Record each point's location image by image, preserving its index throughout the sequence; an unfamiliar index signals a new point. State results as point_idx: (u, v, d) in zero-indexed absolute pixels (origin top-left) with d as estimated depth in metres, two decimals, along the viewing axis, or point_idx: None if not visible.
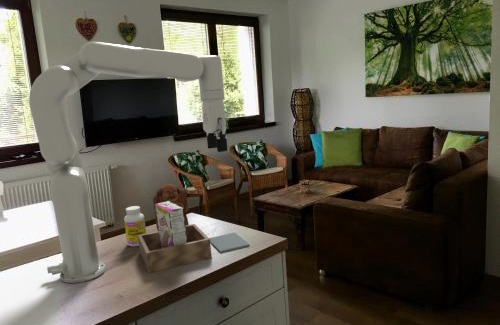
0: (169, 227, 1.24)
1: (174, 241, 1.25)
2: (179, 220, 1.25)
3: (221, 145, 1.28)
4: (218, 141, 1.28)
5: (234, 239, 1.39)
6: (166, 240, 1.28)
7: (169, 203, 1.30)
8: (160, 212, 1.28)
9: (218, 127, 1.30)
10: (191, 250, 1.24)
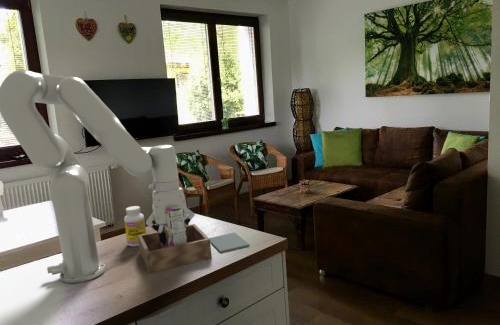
0: (169, 227, 1.24)
1: (174, 241, 1.25)
2: (179, 220, 1.25)
3: None
4: None
5: (234, 239, 1.39)
6: (166, 240, 1.28)
7: None
8: None
9: None
10: (191, 250, 1.24)
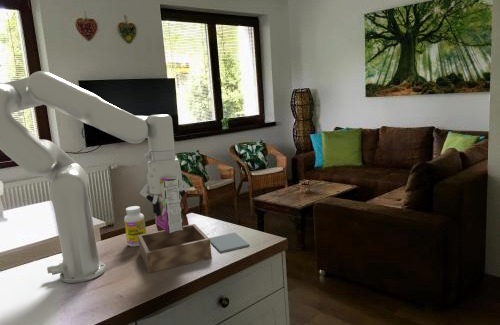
0: (164, 197, 1.22)
1: (168, 212, 1.23)
2: (174, 190, 1.23)
3: None
4: None
5: (234, 239, 1.39)
6: (160, 211, 1.26)
7: None
8: None
9: None
10: (191, 250, 1.24)
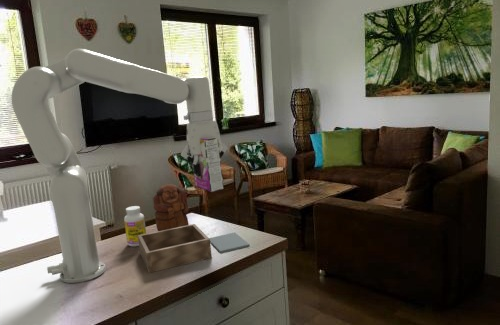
0: (204, 157, 1.26)
1: (210, 170, 1.26)
2: (214, 150, 1.26)
3: None
4: None
5: (234, 239, 1.39)
6: (201, 172, 1.30)
7: None
8: None
9: None
10: (191, 250, 1.24)
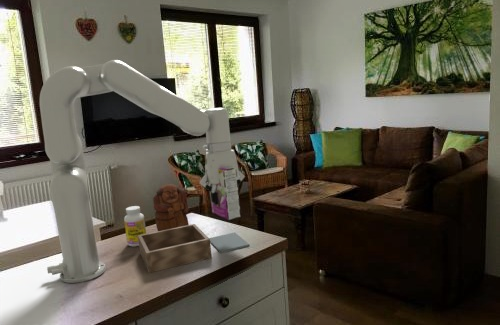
0: (223, 186, 1.29)
1: (227, 199, 1.30)
2: (232, 179, 1.30)
3: None
4: None
5: (234, 239, 1.39)
6: (218, 200, 1.33)
7: None
8: None
9: None
10: (191, 250, 1.24)
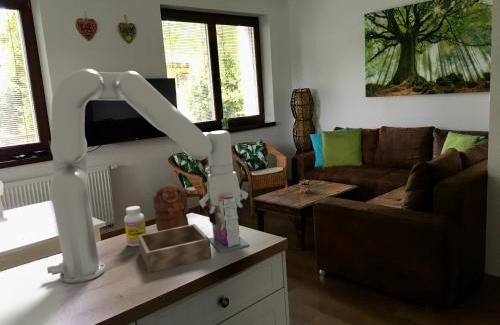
0: (222, 214, 1.31)
1: (227, 227, 1.31)
2: (232, 208, 1.31)
3: None
4: None
5: None
6: (219, 227, 1.35)
7: None
8: None
9: None
10: (191, 250, 1.24)
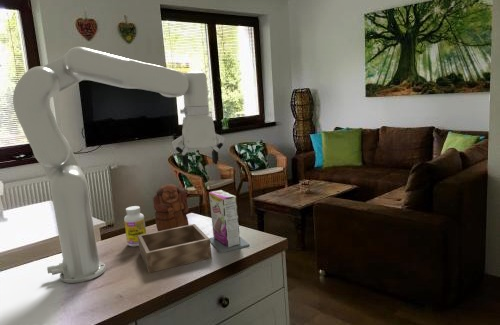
0: (222, 214, 1.31)
1: (227, 227, 1.31)
2: (232, 208, 1.31)
3: None
4: None
5: None
6: (219, 227, 1.35)
7: (222, 192, 1.37)
8: (214, 200, 1.35)
9: None
10: (191, 250, 1.24)
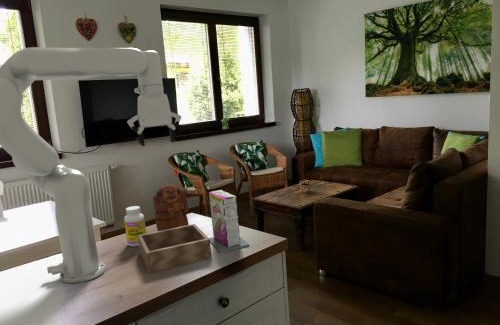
0: (222, 214, 1.31)
1: (227, 227, 1.31)
2: (232, 208, 1.31)
3: None
4: (173, 132, 1.36)
5: None
6: (219, 227, 1.35)
7: (222, 192, 1.37)
8: (214, 200, 1.35)
9: None
10: (191, 250, 1.24)
